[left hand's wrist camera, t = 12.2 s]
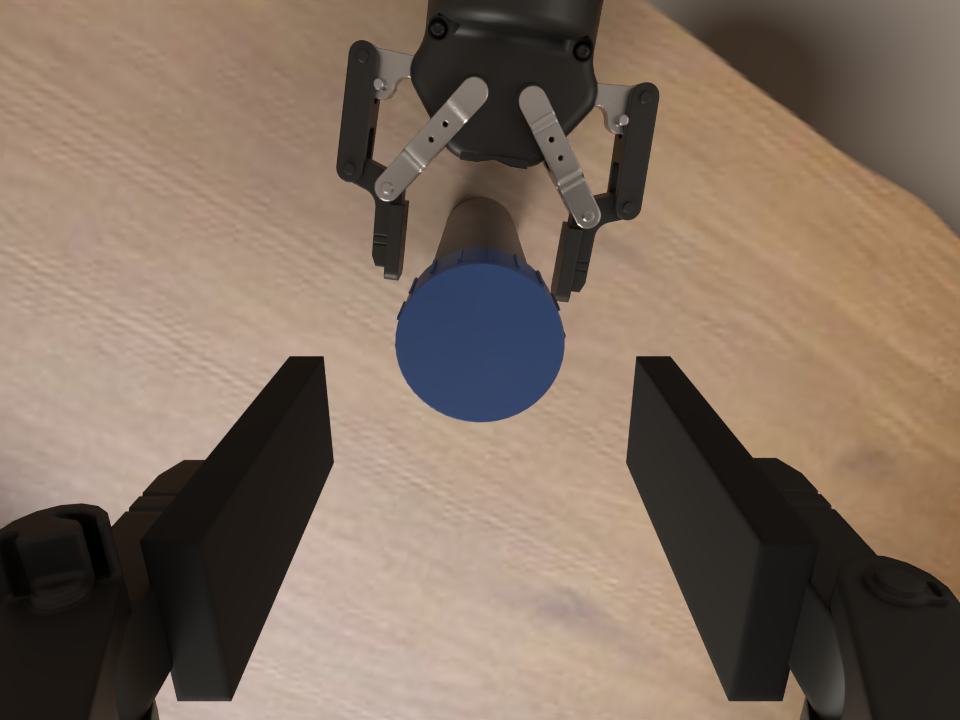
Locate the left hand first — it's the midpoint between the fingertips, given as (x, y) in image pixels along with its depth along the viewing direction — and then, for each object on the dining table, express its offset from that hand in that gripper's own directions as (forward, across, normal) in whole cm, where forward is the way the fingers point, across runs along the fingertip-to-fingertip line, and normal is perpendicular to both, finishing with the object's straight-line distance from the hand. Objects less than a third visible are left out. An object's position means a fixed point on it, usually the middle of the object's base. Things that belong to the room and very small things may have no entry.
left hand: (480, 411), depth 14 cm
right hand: (+18, 0, -2) cm, 18 cm away
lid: (+5, 0, 0) cm, 5 cm away
